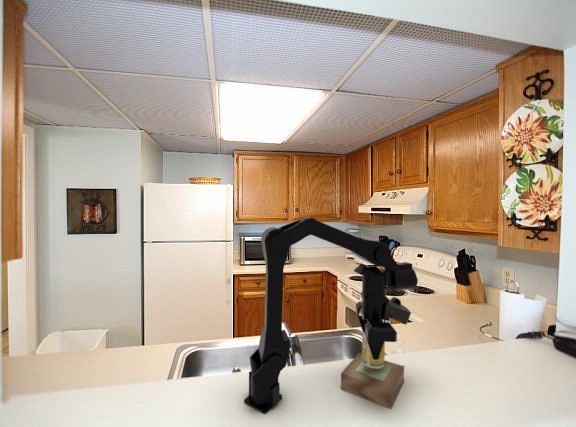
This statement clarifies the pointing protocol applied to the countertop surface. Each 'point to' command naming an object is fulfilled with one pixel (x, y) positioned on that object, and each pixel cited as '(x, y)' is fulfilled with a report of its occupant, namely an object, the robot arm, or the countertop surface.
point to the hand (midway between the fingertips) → (373, 353)
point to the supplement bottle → (368, 357)
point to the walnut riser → (373, 381)
